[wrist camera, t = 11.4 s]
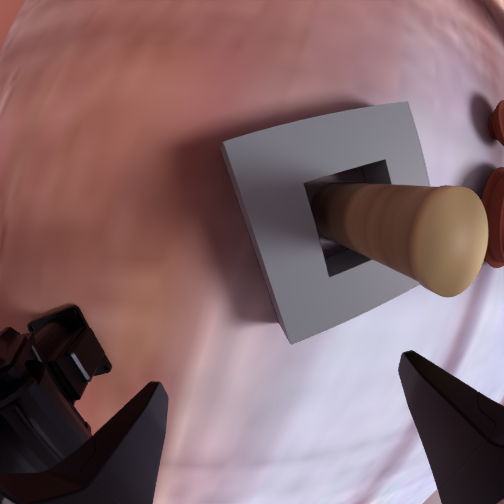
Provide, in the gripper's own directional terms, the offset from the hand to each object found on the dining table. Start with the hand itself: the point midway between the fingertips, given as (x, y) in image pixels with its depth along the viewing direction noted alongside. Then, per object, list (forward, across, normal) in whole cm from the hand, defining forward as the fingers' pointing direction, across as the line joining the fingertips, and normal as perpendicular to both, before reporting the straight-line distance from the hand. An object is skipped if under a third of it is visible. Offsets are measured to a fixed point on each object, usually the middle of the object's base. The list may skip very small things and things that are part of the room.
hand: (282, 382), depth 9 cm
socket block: (+14, -6, -2) cm, 15 cm away
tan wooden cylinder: (+14, -6, -2) cm, 15 cm away
